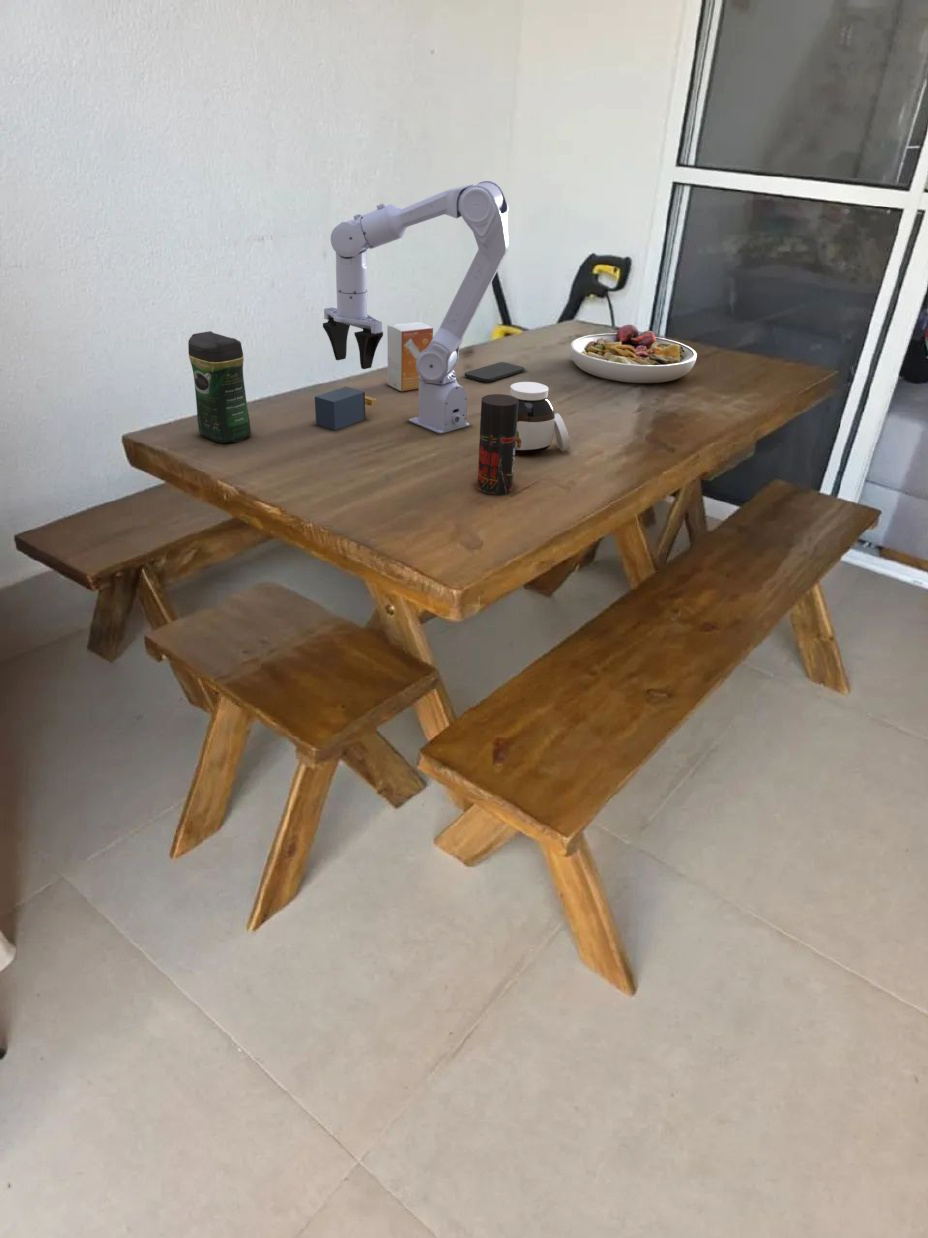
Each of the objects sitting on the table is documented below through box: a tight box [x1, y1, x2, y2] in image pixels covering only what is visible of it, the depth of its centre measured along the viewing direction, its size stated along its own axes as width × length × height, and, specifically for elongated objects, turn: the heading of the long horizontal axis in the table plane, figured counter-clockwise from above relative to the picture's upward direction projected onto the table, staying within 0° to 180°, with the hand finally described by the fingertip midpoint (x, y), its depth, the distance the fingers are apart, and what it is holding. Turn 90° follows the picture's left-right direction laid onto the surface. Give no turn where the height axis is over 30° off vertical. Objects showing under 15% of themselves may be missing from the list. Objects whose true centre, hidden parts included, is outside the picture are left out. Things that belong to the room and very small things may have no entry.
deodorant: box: [476, 393, 519, 496], centre depth 139 cm, size 6×6×15 cm
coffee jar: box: [187, 330, 252, 444], centre depth 154 cm, size 10×8×19 cm
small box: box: [386, 321, 434, 392], centre depth 187 cm, size 8×6×13 cm
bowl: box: [569, 324, 698, 384], centre depth 206 cm, size 30×30×8 cm
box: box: [314, 386, 377, 431], centre depth 167 cm, size 12×6×6 cm, turn 144°
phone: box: [464, 361, 525, 383], centre depth 200 cm, size 7×1×15 cm
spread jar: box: [509, 381, 571, 457], centre depth 156 cm, size 12×11×12 cm
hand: (353, 363), depth 167 cm, fingers open, 7 cm apart
